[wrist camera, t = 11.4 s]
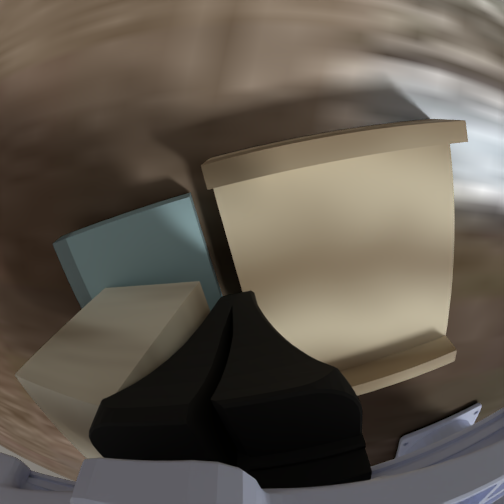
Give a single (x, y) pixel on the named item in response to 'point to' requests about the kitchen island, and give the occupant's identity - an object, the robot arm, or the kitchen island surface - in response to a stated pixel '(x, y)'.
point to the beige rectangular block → (109, 351)
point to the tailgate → (139, 251)
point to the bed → (349, 243)
